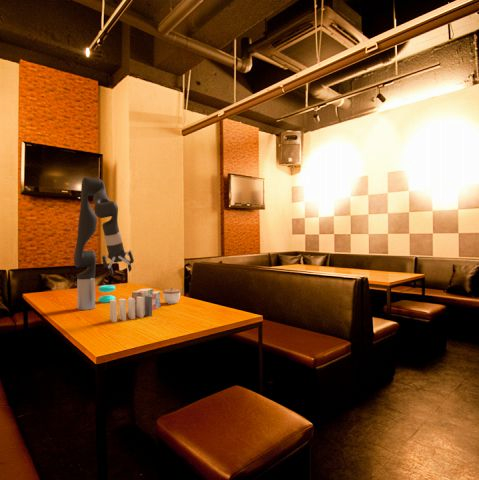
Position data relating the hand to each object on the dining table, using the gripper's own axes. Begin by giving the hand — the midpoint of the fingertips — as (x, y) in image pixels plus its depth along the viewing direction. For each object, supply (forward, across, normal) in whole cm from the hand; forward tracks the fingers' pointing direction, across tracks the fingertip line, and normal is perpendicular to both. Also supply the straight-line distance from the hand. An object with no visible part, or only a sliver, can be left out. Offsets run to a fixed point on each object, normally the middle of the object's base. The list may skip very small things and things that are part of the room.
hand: (121, 272), depth 167 cm
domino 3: (+22, -1, +8) cm, 23 cm away
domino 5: (+24, -9, +4) cm, 26 cm away
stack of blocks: (+28, -7, -7) cm, 30 cm away
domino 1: (+20, +7, +11) cm, 24 cm away
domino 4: (+23, -5, +6) cm, 25 cm away
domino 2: (+21, +3, +10) cm, 23 cm away
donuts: (+32, +20, -41) cm, 56 cm away
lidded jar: (+35, -21, -26) cm, 48 cm away
